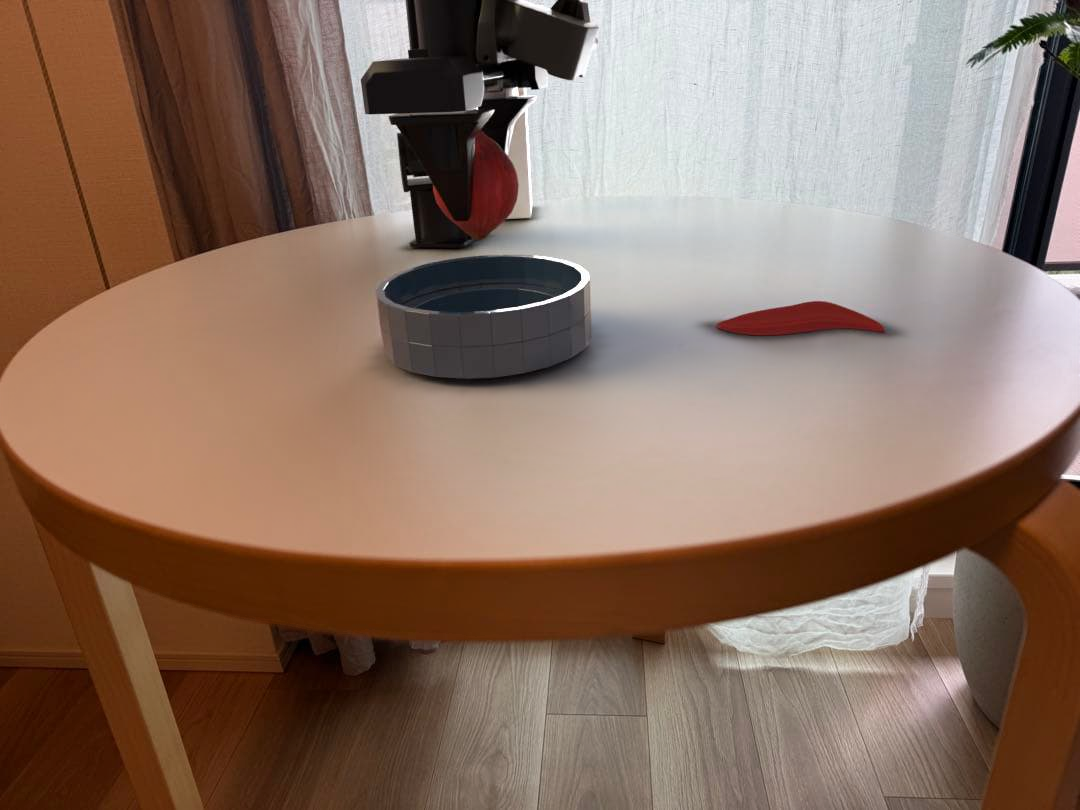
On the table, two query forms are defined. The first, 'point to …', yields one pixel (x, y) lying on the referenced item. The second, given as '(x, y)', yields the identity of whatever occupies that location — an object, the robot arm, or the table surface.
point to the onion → (488, 189)
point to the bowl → (485, 315)
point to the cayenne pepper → (799, 320)
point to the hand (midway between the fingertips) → (477, 211)
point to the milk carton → (521, 164)
